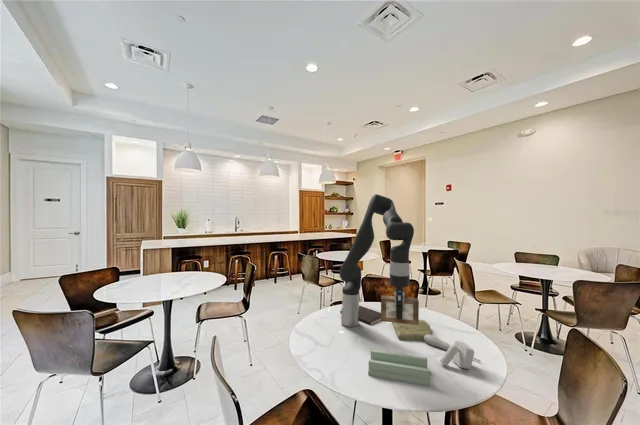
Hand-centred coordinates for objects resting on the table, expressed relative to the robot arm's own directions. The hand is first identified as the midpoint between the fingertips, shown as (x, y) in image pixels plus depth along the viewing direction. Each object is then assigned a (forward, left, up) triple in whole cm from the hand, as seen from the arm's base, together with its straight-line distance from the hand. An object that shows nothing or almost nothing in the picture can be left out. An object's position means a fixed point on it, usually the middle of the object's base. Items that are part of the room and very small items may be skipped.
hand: (399, 316), depth 108 cm
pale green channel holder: (0, 0, -22) cm, 22 cm away
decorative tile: (+7, +39, -22) cm, 45 cm away
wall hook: (+22, +11, -22) cm, 33 cm away
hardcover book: (-21, +53, -22) cm, 61 cm away
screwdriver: (+22, +23, -22) cm, 39 cm away
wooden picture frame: (0, 0, -2) cm, 2 cm away
